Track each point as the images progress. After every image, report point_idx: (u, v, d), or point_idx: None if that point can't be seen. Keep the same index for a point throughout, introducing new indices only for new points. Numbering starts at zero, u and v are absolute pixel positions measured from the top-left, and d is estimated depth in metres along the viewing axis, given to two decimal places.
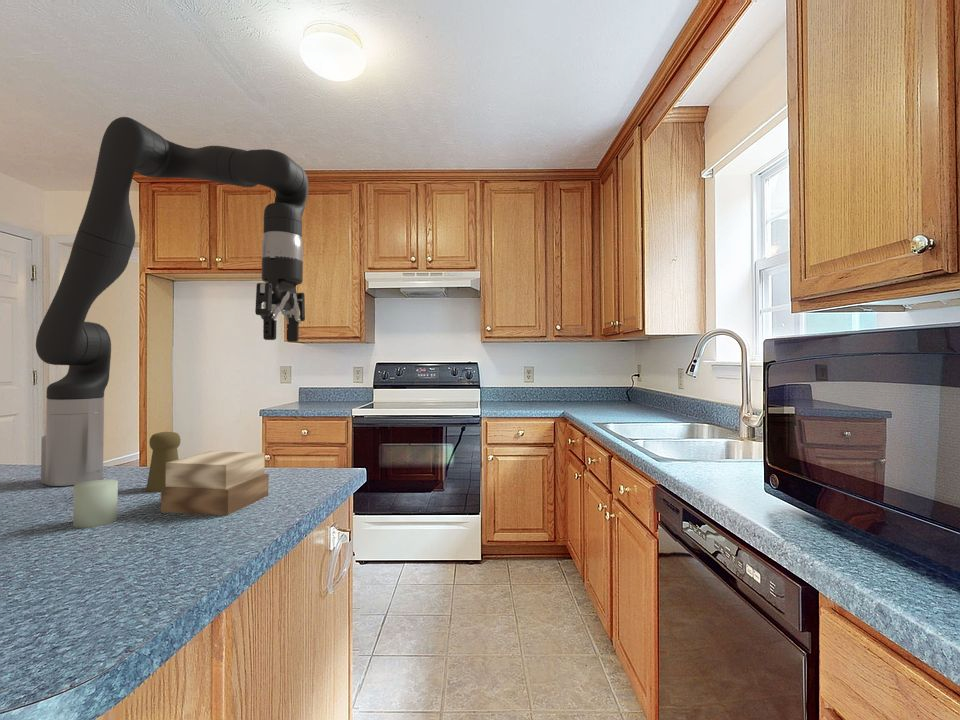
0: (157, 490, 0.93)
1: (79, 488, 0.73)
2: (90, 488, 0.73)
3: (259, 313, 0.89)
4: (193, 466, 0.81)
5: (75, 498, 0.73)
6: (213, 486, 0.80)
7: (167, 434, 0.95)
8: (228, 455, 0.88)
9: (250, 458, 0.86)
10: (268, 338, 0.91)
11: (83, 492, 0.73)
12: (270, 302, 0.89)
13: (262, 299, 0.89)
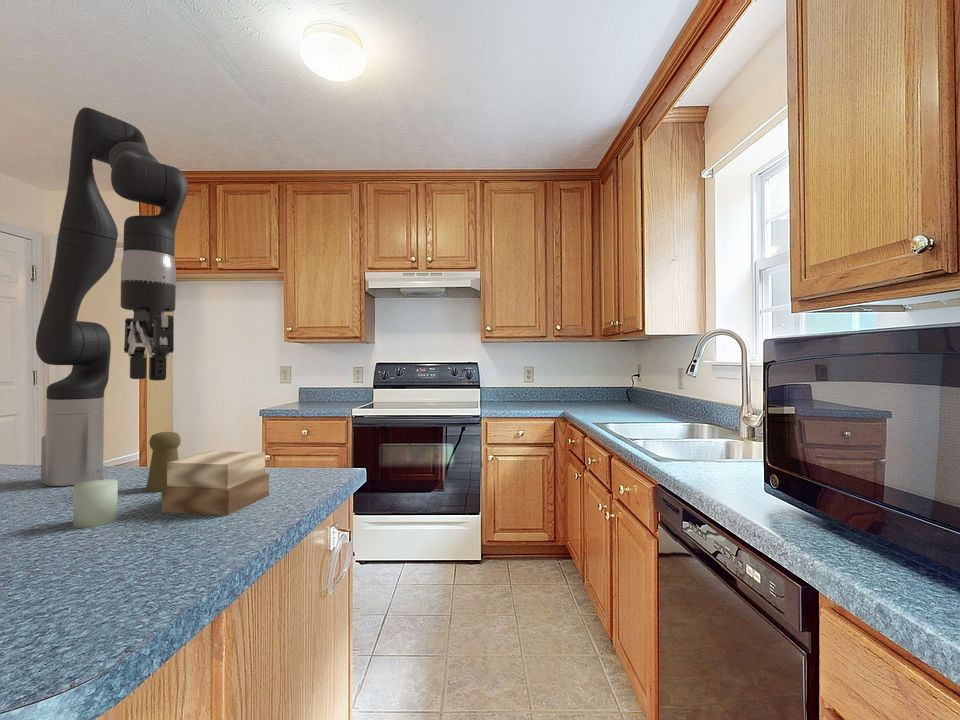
0: (157, 490, 0.93)
1: (79, 488, 0.73)
2: (90, 488, 0.73)
3: None
4: (195, 465, 0.81)
5: (75, 498, 0.73)
6: (215, 485, 0.81)
7: (167, 434, 0.95)
8: (229, 455, 0.88)
9: (251, 458, 0.87)
10: None
11: (83, 492, 0.73)
12: (126, 339, 0.83)
13: None
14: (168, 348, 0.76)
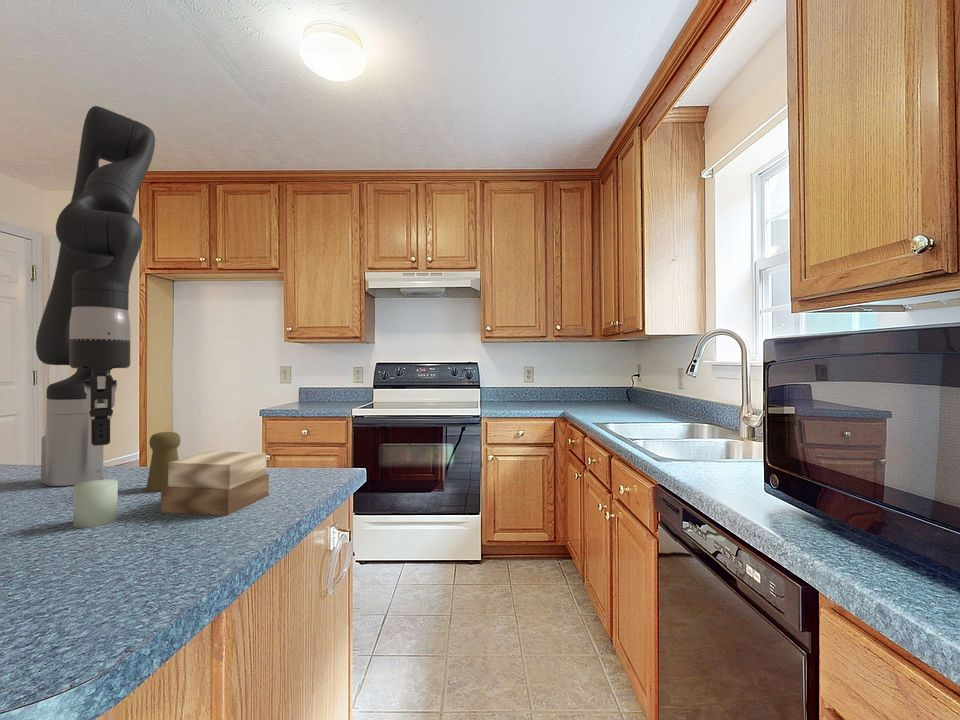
0: (157, 490, 0.93)
1: (79, 488, 0.73)
2: (90, 488, 0.73)
3: None
4: (196, 466, 0.81)
5: (75, 498, 0.73)
6: (216, 486, 0.80)
7: (167, 434, 0.95)
8: (230, 455, 0.88)
9: (252, 458, 0.87)
10: None
11: (83, 492, 0.73)
12: None
13: None
14: (105, 411, 0.71)
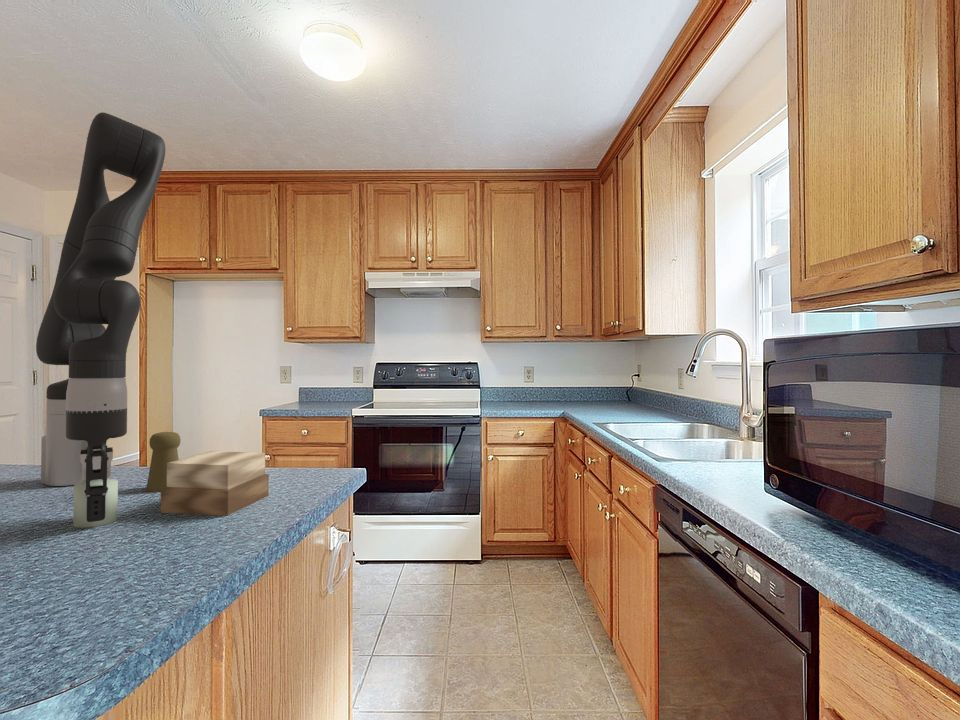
0: (157, 490, 0.93)
1: (79, 488, 0.73)
2: None
3: None
4: (195, 466, 0.81)
5: (75, 498, 0.73)
6: (215, 486, 0.80)
7: (167, 434, 0.95)
8: (229, 455, 0.88)
9: (251, 458, 0.86)
10: None
11: (83, 492, 0.73)
12: None
13: None
14: (100, 490, 0.71)
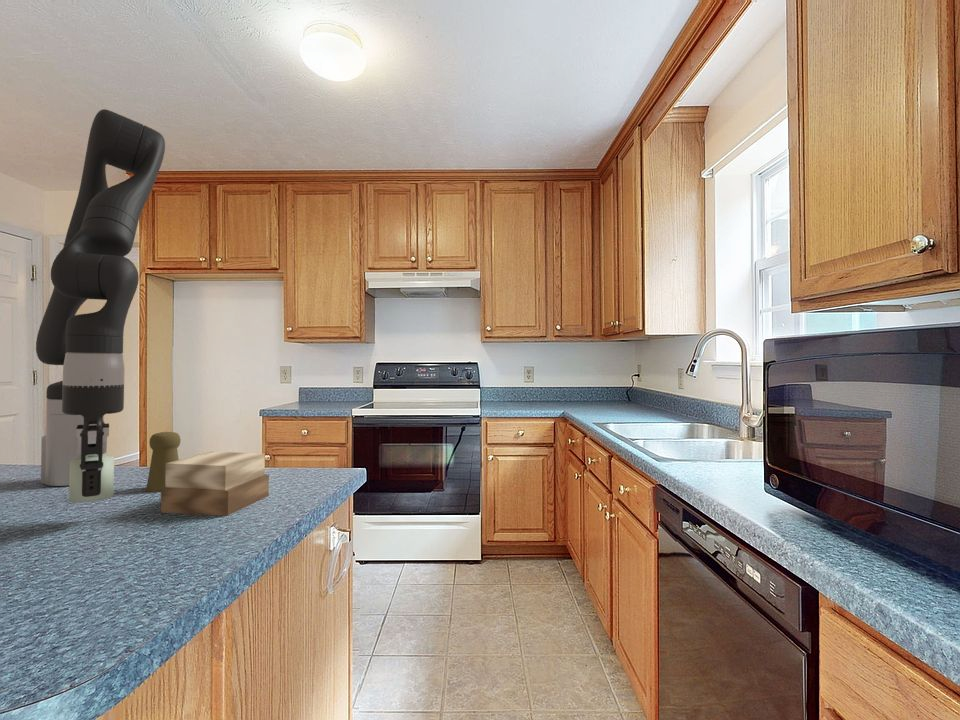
0: (157, 490, 0.93)
1: (75, 463, 0.73)
2: None
3: None
4: (193, 466, 0.81)
5: (71, 473, 0.73)
6: (213, 487, 0.80)
7: (167, 434, 0.95)
8: (228, 456, 0.88)
9: (250, 459, 0.86)
10: None
11: (79, 467, 0.73)
12: None
13: None
14: (95, 464, 0.71)
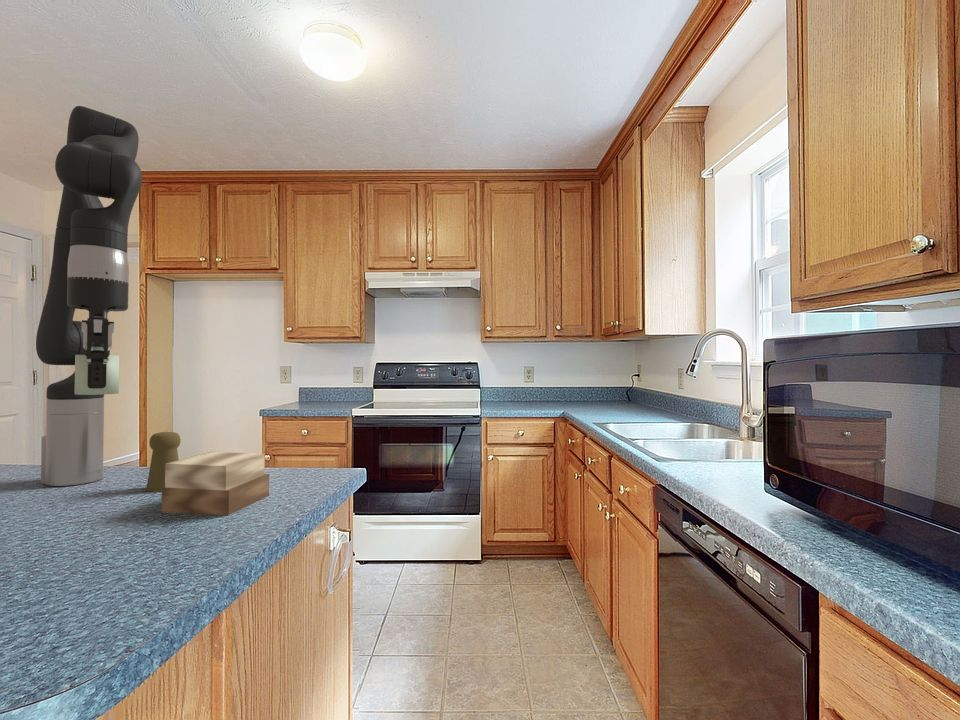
0: (157, 490, 0.93)
1: (81, 355, 0.73)
2: None
3: None
4: (193, 467, 0.80)
5: (77, 365, 0.73)
6: (213, 487, 0.80)
7: (167, 434, 0.95)
8: (228, 456, 0.88)
9: (250, 459, 0.86)
10: None
11: (85, 359, 0.73)
12: None
13: None
14: (101, 354, 0.71)
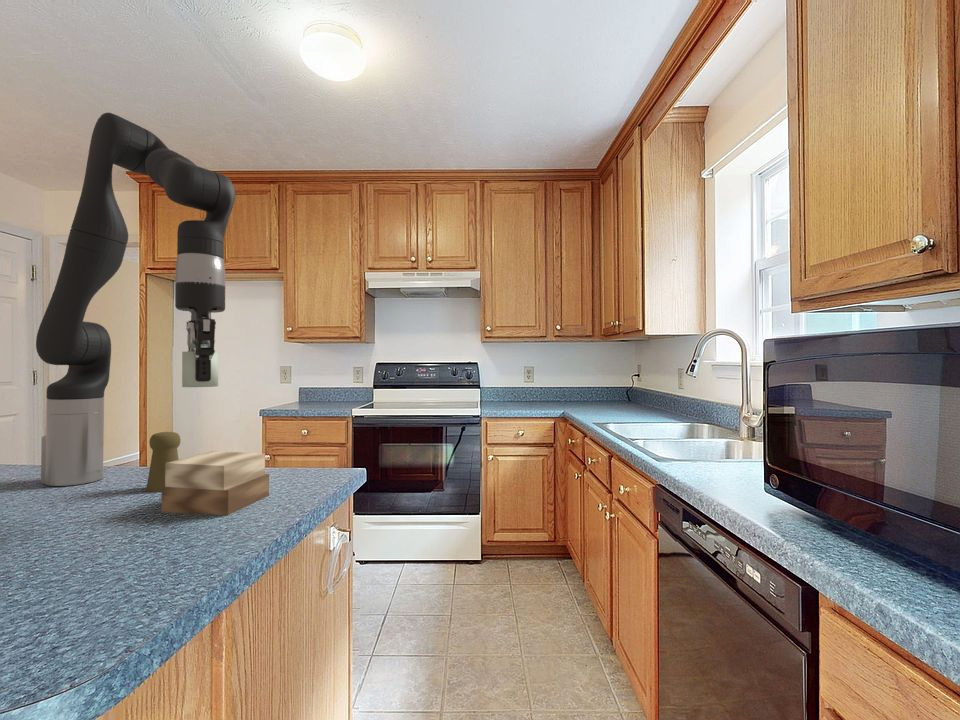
0: (157, 490, 0.93)
1: (188, 352, 0.81)
2: None
3: None
4: (192, 466, 0.80)
5: (184, 361, 0.82)
6: (211, 487, 0.80)
7: (167, 434, 0.95)
8: (228, 456, 0.88)
9: (250, 459, 0.86)
10: None
11: (192, 355, 0.81)
12: None
13: None
14: (209, 350, 0.80)
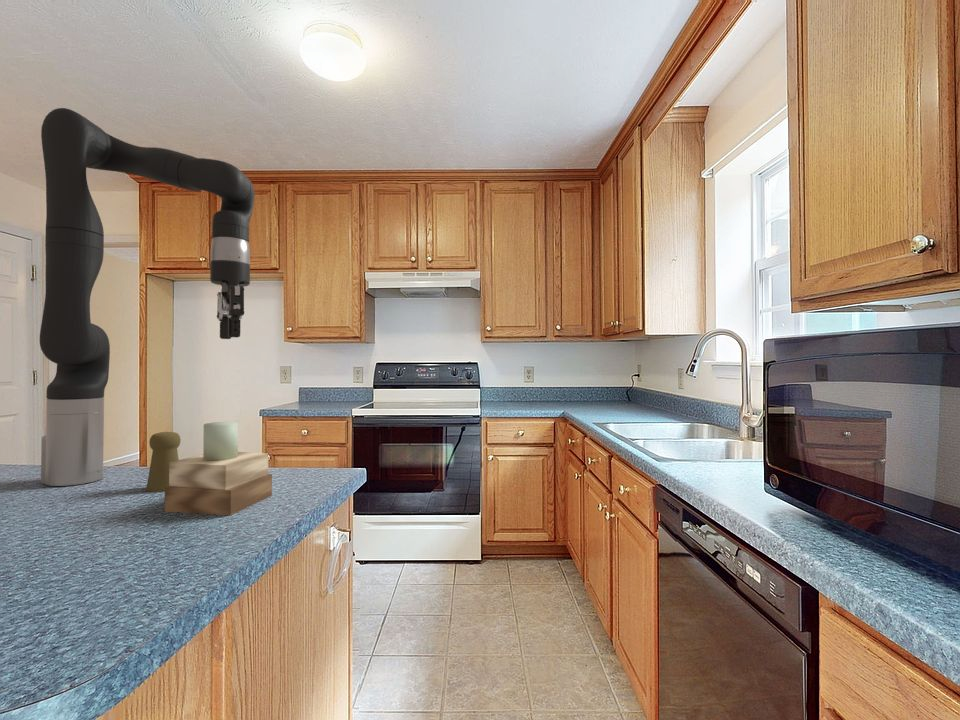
0: (157, 490, 0.93)
1: (209, 426, 0.84)
2: (218, 426, 0.84)
3: None
4: (195, 466, 0.81)
5: (205, 435, 0.84)
6: (213, 486, 0.80)
7: (167, 434, 0.95)
8: None
9: (252, 459, 0.86)
10: None
11: (213, 429, 0.84)
12: (218, 308, 1.07)
13: None
14: (240, 311, 0.98)
